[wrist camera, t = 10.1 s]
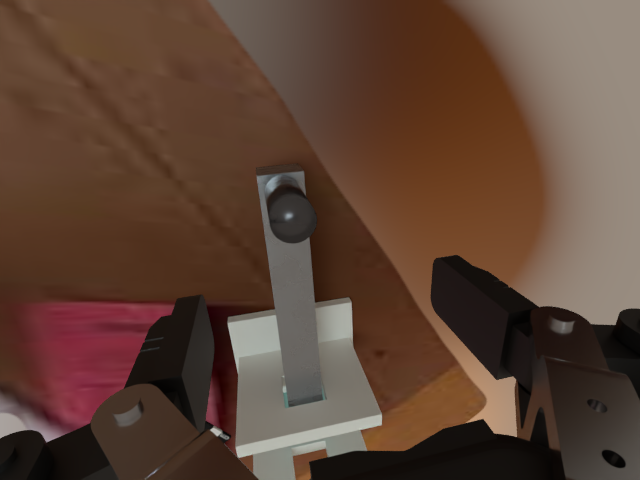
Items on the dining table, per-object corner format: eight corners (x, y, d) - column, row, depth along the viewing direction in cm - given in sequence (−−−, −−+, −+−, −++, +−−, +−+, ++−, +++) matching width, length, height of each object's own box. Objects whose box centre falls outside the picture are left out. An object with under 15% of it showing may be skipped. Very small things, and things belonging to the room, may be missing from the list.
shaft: (285, 381, 38) (297, 475, 28) (255, 167, 29) (259, 200, 19) (316, 374, 38) (339, 465, 29) (297, 163, 29) (321, 193, 19)
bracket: (255, 452, 50) (258, 561, 38) (228, 317, 40) (219, 405, 28) (353, 429, 52) (384, 526, 40) (348, 297, 43) (387, 371, 31)
